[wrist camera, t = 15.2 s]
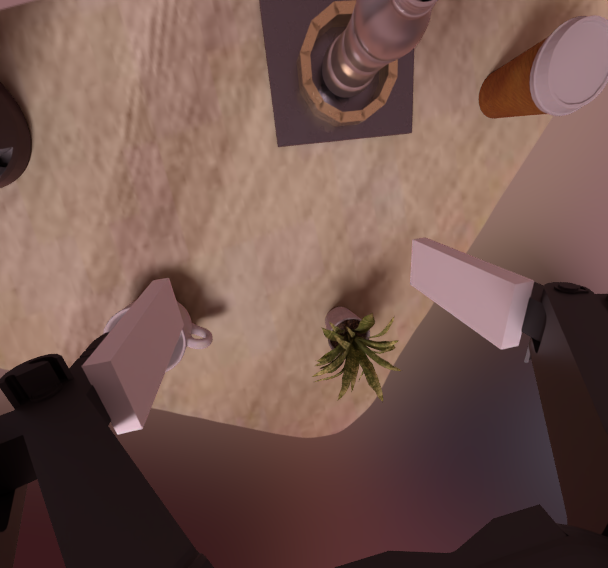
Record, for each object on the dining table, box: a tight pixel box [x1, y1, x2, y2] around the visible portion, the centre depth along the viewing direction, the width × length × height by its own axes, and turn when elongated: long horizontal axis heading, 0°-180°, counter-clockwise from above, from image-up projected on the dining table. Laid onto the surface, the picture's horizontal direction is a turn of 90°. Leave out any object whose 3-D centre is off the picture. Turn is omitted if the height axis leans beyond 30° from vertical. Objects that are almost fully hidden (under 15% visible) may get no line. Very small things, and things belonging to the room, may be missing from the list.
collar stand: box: [259, 0, 414, 147], centre depth 37 cm, size 20×16×4 cm
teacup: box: [103, 301, 212, 372], centre depth 43 cm, size 14×11×8 cm
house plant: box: [311, 307, 401, 401], centre depth 43 cm, size 14×14×16 cm
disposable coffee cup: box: [479, 16, 608, 118], centre depth 37 cm, size 10×10×12 cm
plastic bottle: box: [322, 0, 438, 98], centre depth 28 cm, size 6×7×20 cm
